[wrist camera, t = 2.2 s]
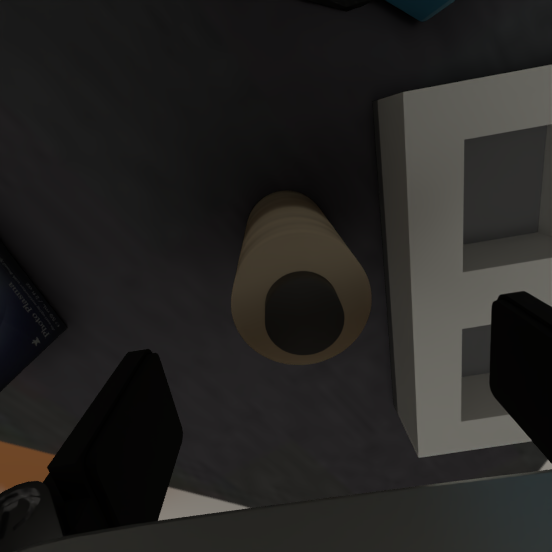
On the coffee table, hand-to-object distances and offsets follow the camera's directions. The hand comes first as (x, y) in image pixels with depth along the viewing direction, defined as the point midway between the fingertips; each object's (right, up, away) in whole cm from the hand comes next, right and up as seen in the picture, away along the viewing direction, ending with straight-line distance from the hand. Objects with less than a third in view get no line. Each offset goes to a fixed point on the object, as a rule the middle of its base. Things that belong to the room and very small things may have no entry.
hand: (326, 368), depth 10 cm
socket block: (+12, +4, +14) cm, 19 cm away
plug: (-1, +5, +13) cm, 14 cm away
